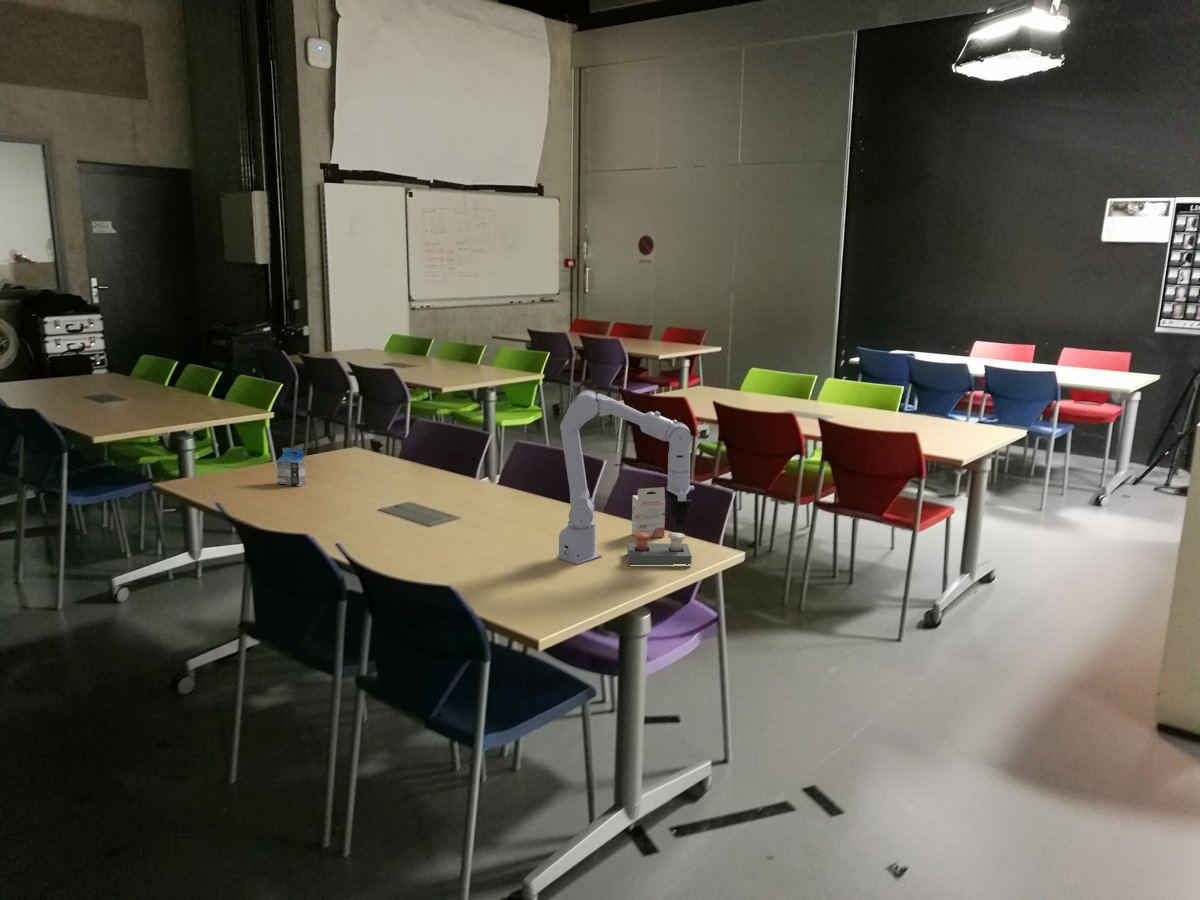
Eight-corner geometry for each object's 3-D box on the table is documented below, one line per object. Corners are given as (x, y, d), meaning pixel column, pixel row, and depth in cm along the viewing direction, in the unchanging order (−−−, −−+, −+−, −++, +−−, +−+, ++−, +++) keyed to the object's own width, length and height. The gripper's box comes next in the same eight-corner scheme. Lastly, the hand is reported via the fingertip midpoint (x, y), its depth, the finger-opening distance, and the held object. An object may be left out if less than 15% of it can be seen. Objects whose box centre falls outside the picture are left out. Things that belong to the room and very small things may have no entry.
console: (629, 566, 227) (629, 555, 226) (627, 553, 237) (627, 543, 236) (691, 567, 227) (691, 556, 227) (686, 554, 237) (687, 543, 236)
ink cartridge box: (658, 532, 256) (660, 483, 253) (664, 537, 251) (666, 487, 248) (630, 534, 254) (632, 484, 251) (636, 539, 249) (637, 489, 246)
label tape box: (277, 484, 301) (274, 449, 298) (284, 482, 304) (282, 447, 302) (299, 487, 298) (297, 451, 296) (306, 484, 302) (304, 449, 299)
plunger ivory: (677, 552, 228) (677, 538, 227) (664, 548, 231) (664, 535, 230) (687, 549, 231) (688, 535, 231) (674, 545, 234) (675, 531, 234)
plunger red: (642, 552, 228) (643, 538, 227) (630, 548, 231) (630, 534, 230) (653, 548, 231) (654, 534, 230) (641, 544, 234) (641, 531, 233)
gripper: (698, 476, 220) (697, 528, 223) (690, 463, 235) (689, 512, 237) (670, 477, 220) (669, 529, 223) (664, 464, 234) (663, 512, 237)
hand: (678, 520), depth 230 cm, fingers open, 7 cm apart
